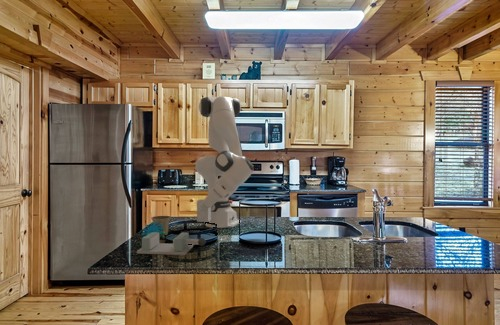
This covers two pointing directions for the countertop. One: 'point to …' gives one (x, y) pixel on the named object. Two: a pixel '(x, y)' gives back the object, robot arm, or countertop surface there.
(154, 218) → the flower pot
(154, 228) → the gear
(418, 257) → the countertop surface
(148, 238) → the vise
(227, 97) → the robot arm
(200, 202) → the block
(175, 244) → the jaw
